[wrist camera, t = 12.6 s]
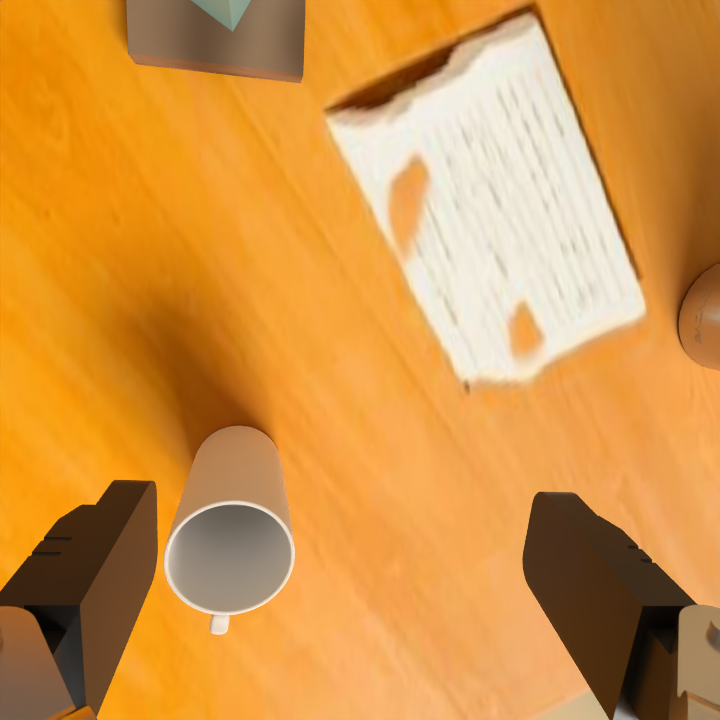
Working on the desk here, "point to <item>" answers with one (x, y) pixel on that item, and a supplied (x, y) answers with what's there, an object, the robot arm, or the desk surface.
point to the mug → (231, 527)
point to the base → (219, 38)
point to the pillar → (224, 10)
